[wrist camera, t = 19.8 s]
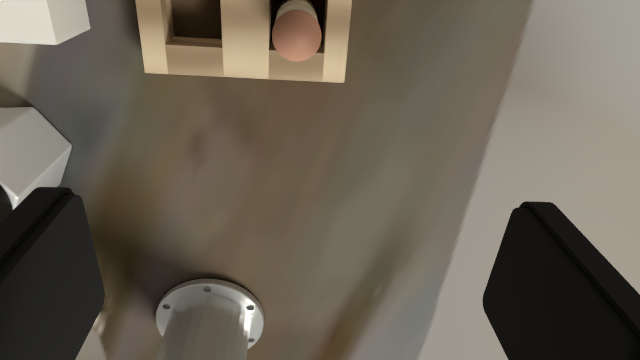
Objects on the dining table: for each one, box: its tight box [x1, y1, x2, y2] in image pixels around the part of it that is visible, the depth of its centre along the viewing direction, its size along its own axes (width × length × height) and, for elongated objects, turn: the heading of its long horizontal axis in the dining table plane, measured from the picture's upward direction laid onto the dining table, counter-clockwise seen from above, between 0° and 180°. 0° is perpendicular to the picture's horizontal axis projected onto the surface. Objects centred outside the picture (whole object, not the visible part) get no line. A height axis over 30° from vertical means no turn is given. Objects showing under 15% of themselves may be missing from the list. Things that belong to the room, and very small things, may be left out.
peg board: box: [135, 0, 352, 83], centre depth 34 cm, size 9×16×3 cm, turn 86°
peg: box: [272, 0, 321, 61], centre depth 32 cm, size 3×3×8 cm
